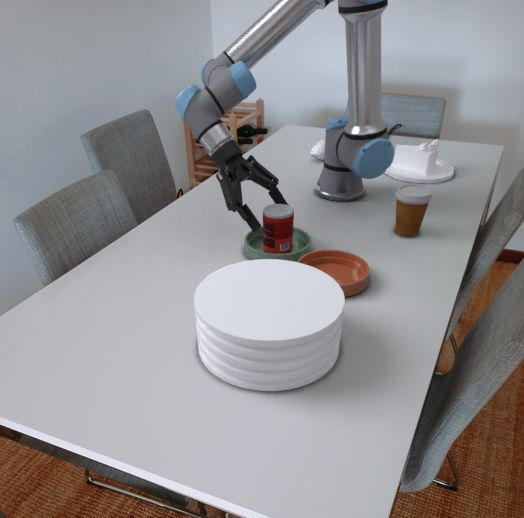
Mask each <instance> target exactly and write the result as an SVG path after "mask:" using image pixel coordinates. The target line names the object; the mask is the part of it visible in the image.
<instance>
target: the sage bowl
mask: <svg viewBox="0 0 524 518" xmlns="http://www.w3.org/2000/svg"><path fill="white" fill-rule="evenodd" d="M243 239H244V241H243V242H244V254H245V256H246V257H247V258H248V259H250V260H259V259H278V260H287V261H293V262H297V261H298V259H299V258H300V257H301V256H303V255H305V254H307V253H310V252H312V238H311V236H310V234H309V233H308V232H307V231H305V230H303V229H301V228H300V227H299V228H298V227H296V226H293V243H292V250H291V252H290V253H286V254H272V253H265V252H264V250H263V225H262V226H261V227H260V228H259V229H258V230H256V231H255V232H253V231H252V229H250V230H249V231H248V232H247V233H246V234H245V235H244V237H243Z"/></svg>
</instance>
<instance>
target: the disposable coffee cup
mask: <svg viewBox="0 0 524 518" xmlns="http://www.w3.org/2000/svg"><path fill="white" fill-rule="evenodd" d="M395 198H396V202H395V203H396V204H395V223H394V224H395V226H394V233H395V234H396V235H398V236H400V237H404V238H414V237H417V236H418V234H419V232H420V229H421V227H422V223H423V221H424V218H425V215H426V212H427V209H428V206H429V205H430V204H429V203H430V202H431V200H432V198H433V195H432V190H431V189H430V188H428V187H427V186H424V185H420V184H412V183H411V184H403V185H400V186H398V188H397V190H396V191H395Z"/></svg>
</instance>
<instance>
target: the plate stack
mask: <svg viewBox="0 0 524 518" xmlns="http://www.w3.org/2000/svg"><path fill="white" fill-rule="evenodd" d="M345 304H346V297H344V293H343V291H342V289H341V287H340V286H339V284H338V283H337V282H336V281H335V280H334V279H333V278H332V277H330V276H329V275H328V274H326V273H324V272H323V271H321V270H319V269H316V268H314V267H312V266H309V265H306V264H302V263H298V262H293V261H287V260H278V259H259V260H251V259H250V260H243V261H240V262H235V263H232V264H228V265H225V266H223V267H220V268H218V269H216V270H214V271H213V272H211V273H210V274H208V275H207V276H206V277H204V278H203V279H202V281H201V282H200V283H199V284H198V286H197V287H196V289H195V291H194V295H193V306H194V315H195V316H194V317H195V327H196V334H197V335H196V336H197V346H198V354H199V358H200V360H201V362H202V364H203V365H204V366H205V368H206V369H207V370H208V371H209V372H210V373H211V374H213V375H214V376H215V377H217V378H218V379H220V380H221V381H224V382H226V383H227V384H230V385H232V386H235V387H238V388H242V389H246V390H250V391H257V392H258V391H259V392H283V391H289V390H292V389H293V390H294V389H297V388H301V387H304V386H307V385H309V384H312V383H313V382H316V381H317V380H319V379H320V378H322V377H323V376H325V375H326V374H327V373H329V371H330V370H331V369H332V368H333V367H334V366H335V364H336V362H337V360H338V357H339V353H340V343H341V335H342V329H343V320H344V312H345Z"/></svg>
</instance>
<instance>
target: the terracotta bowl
mask: <svg viewBox="0 0 524 518" xmlns="http://www.w3.org/2000/svg"><path fill="white" fill-rule="evenodd" d="M297 262H298V263H302V264H306V265H309V266H312V267H314V268H316V269H319V270H321V271H323V272H324V273H326V274H328V275H329V276H330V277H332V278H333V279H334V280H335V281H336V282H337V283H338V284H339V286H340V287H341V289H342V291H343V293H344V297H345V298H346V297H351V296H354V295H357V294H359V293H361V292H362V291H363V290H365V289H366V288H367V286H368V283H369V278H370V277H369V276H370V271H371V270H370V266H369V264H368V262H367V261H365V260H364V258H362V257H360V256H359V255H358V254H354V253H351V252H349V251H344V250H341V249H340V250H339V249H318V250H313V251H311V252H310V253H307V254H305V255H303V256H301V257H300V258H299V259H298V261H297Z"/></svg>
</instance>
